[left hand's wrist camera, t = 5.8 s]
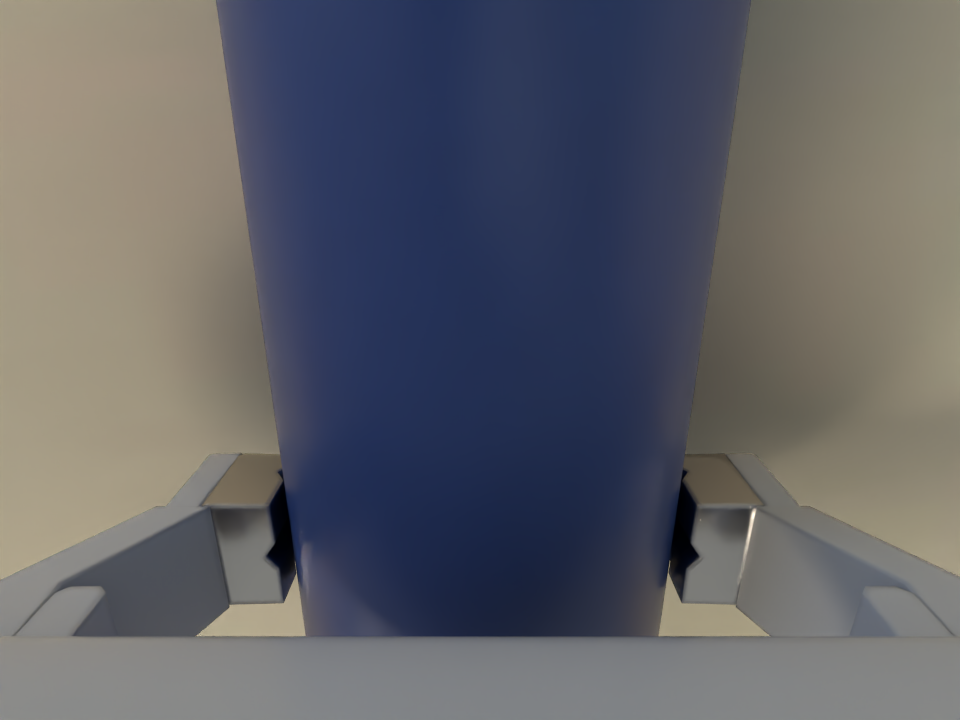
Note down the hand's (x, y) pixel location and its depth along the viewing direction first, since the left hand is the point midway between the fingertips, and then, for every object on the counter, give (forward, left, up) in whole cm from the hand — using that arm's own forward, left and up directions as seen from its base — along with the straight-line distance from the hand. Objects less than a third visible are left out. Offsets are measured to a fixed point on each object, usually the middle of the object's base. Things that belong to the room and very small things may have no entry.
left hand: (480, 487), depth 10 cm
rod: (+10, +2, -3) cm, 10 cm away
